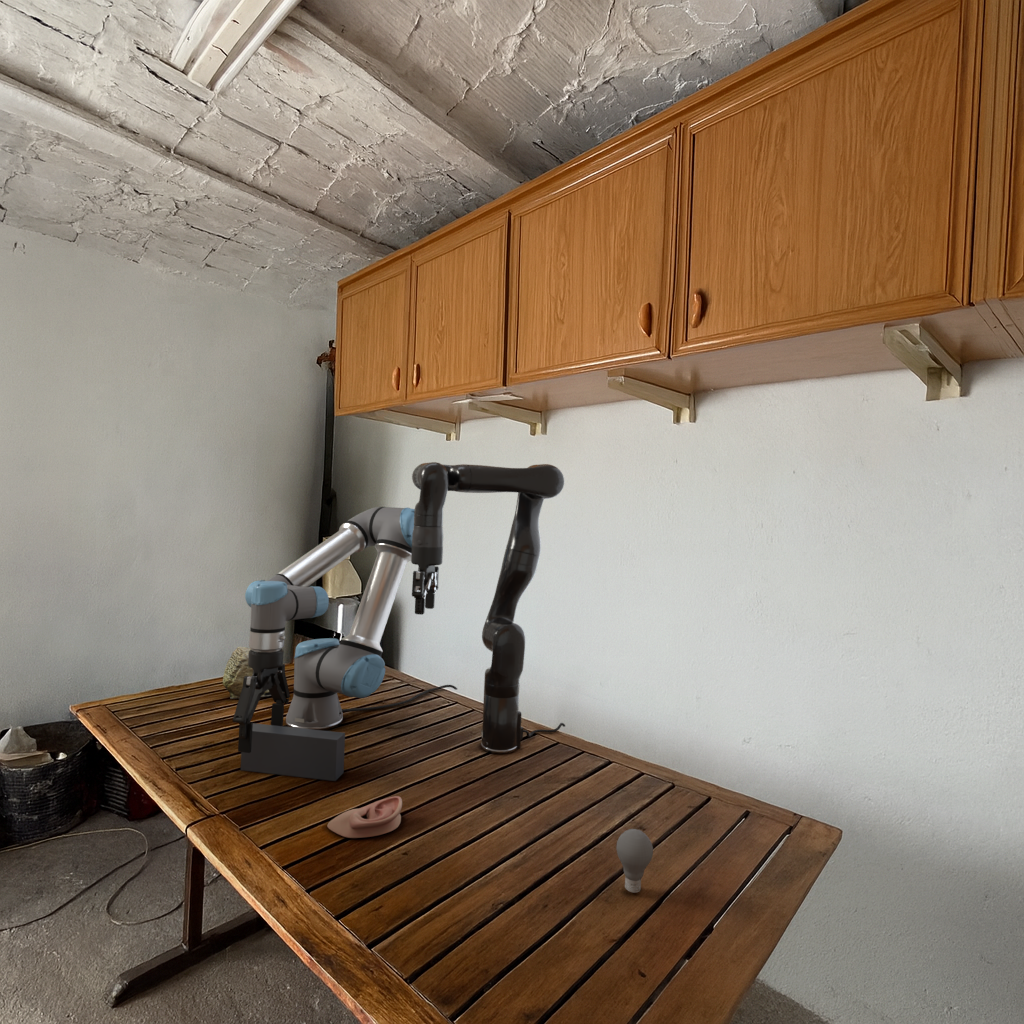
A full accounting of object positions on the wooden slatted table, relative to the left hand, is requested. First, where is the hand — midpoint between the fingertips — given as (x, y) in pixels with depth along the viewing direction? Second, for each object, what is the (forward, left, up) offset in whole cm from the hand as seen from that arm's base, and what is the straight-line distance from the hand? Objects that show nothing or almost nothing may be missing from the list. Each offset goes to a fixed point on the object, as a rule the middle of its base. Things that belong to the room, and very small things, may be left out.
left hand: (261, 741), depth 146 cm
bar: (-4, +6, -6) cm, 10 cm away
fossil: (-27, -50, -6) cm, 57 cm away
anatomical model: (-1, +37, -6) cm, 38 cm away
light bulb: (-17, +86, -6) cm, 88 cm away
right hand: (-29, +22, +30) cm, 47 cm away
